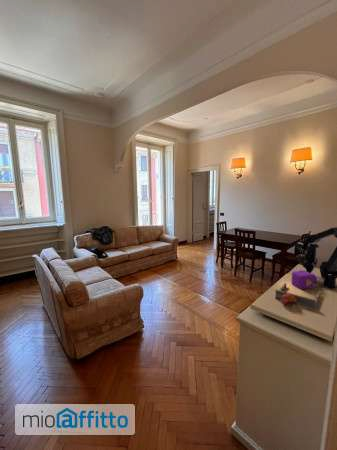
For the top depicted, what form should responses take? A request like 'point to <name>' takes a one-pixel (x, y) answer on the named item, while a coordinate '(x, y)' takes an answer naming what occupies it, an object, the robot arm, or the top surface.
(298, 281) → the toy camera
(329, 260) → the robot arm
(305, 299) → the guide bay
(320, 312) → the top surface
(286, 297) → the pomegranate
